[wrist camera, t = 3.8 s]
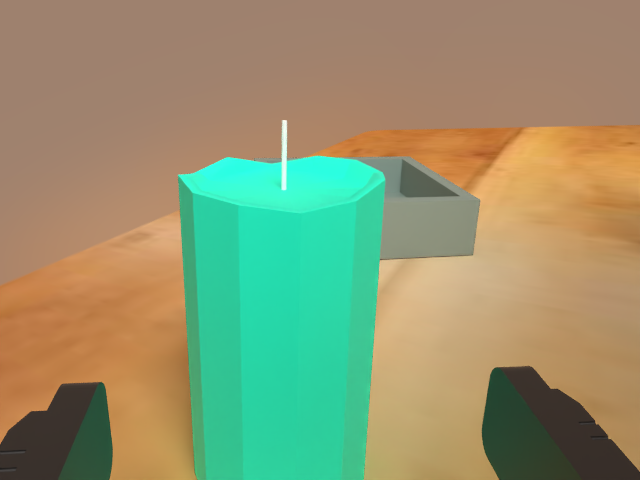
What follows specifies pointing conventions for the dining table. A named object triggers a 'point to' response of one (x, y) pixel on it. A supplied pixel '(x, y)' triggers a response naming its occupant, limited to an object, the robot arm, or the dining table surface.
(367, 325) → the candle
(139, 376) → the dining table surface
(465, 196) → the tray
